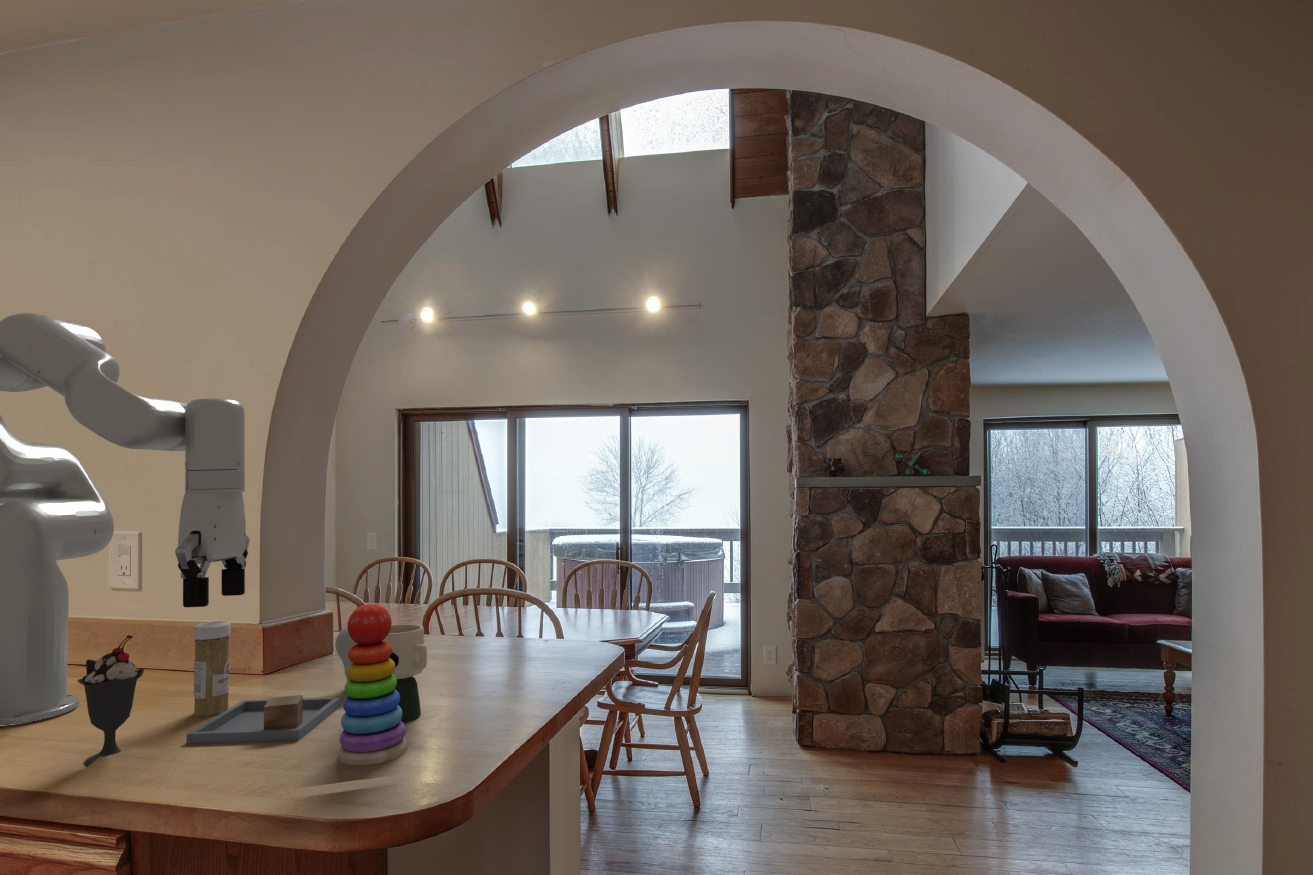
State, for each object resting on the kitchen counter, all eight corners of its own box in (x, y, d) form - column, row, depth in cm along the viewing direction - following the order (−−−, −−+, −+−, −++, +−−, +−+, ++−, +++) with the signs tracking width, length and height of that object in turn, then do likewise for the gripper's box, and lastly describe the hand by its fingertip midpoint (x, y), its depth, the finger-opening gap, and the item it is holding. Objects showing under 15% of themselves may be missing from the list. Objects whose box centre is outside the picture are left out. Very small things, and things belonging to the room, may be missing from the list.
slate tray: (186, 749, 93) (186, 733, 93) (243, 713, 107) (243, 699, 107) (298, 746, 93) (298, 730, 93) (340, 710, 107) (340, 697, 107)
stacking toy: (373, 742, 94) (374, 596, 95) (421, 751, 91) (421, 600, 92) (322, 765, 87) (323, 607, 88) (372, 776, 84) (372, 611, 85)
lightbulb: (340, 701, 112) (340, 628, 112) (331, 692, 117) (331, 622, 117) (381, 693, 116) (381, 623, 116) (370, 685, 120) (370, 617, 121)
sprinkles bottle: (230, 718, 105) (231, 623, 105) (192, 724, 102) (194, 627, 103) (228, 709, 109) (229, 618, 109) (192, 715, 106) (193, 622, 107)
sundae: (147, 757, 90) (150, 635, 91) (79, 774, 85) (82, 644, 86) (137, 744, 95) (140, 627, 96) (72, 758, 90) (75, 636, 91)
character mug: (349, 724, 101) (349, 630, 102) (389, 709, 107) (390, 620, 108) (405, 736, 96) (405, 637, 97) (444, 720, 102) (444, 626, 103)
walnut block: (263, 738, 94) (263, 706, 94) (269, 728, 98) (270, 697, 98) (297, 734, 95) (298, 703, 96) (302, 724, 99) (302, 694, 99)
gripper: (221, 483, 115) (221, 592, 115) (151, 484, 98) (150, 612, 97) (269, 481, 116) (270, 590, 115) (208, 482, 99) (208, 610, 98)
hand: (215, 600), depth 106 cm, fingers open, 9 cm apart
